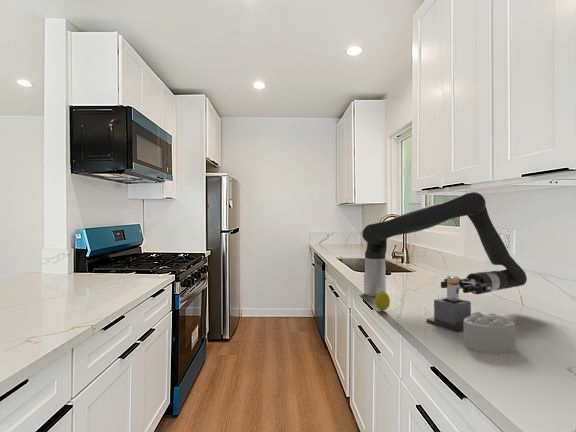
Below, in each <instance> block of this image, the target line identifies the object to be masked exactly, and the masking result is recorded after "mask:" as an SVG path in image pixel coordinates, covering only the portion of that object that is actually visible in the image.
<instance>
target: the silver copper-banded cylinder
mask: <svg viewBox="0 0 576 432" xmlns="http://www.w3.org/2000/svg"><path fill="white" fill-rule="evenodd" d="M446 279H447V288H446V297H447V302H450V303H459V299H460V298H459V296H460V289H459V287H460V286H459V279H460V277H458V276H454V275H453V276H452V275H447V277H446Z"/></svg>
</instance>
